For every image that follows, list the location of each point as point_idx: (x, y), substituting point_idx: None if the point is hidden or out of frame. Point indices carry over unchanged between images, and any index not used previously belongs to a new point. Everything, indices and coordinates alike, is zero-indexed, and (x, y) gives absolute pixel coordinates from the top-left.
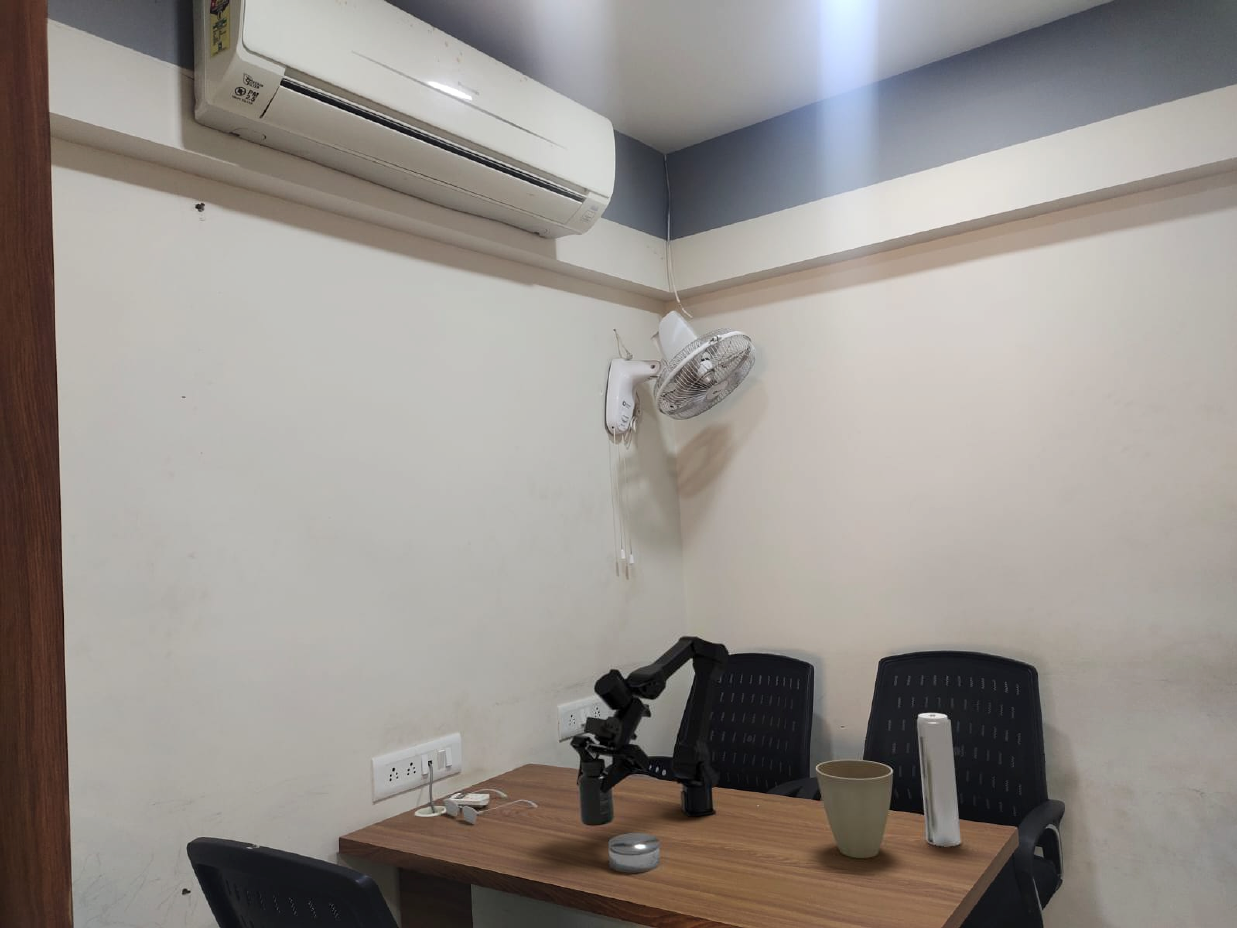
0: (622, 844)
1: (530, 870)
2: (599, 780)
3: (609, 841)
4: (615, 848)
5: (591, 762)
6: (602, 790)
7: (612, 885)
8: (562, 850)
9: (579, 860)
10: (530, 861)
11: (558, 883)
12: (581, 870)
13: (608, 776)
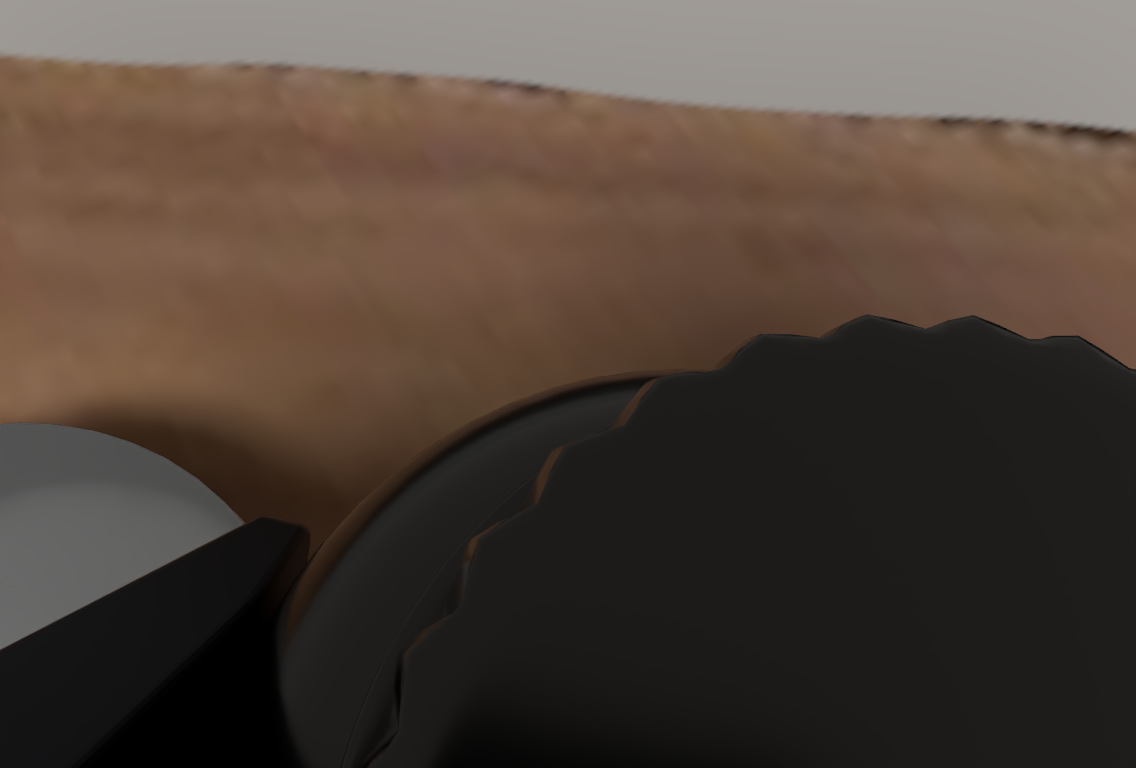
0: (85, 586)
1: (843, 229)
2: (354, 535)
3: None
4: (113, 446)
5: (895, 597)
6: (264, 518)
7: (64, 210)
8: None
9: None
10: None
11: (495, 106)
12: (467, 373)
13: (38, 686)
